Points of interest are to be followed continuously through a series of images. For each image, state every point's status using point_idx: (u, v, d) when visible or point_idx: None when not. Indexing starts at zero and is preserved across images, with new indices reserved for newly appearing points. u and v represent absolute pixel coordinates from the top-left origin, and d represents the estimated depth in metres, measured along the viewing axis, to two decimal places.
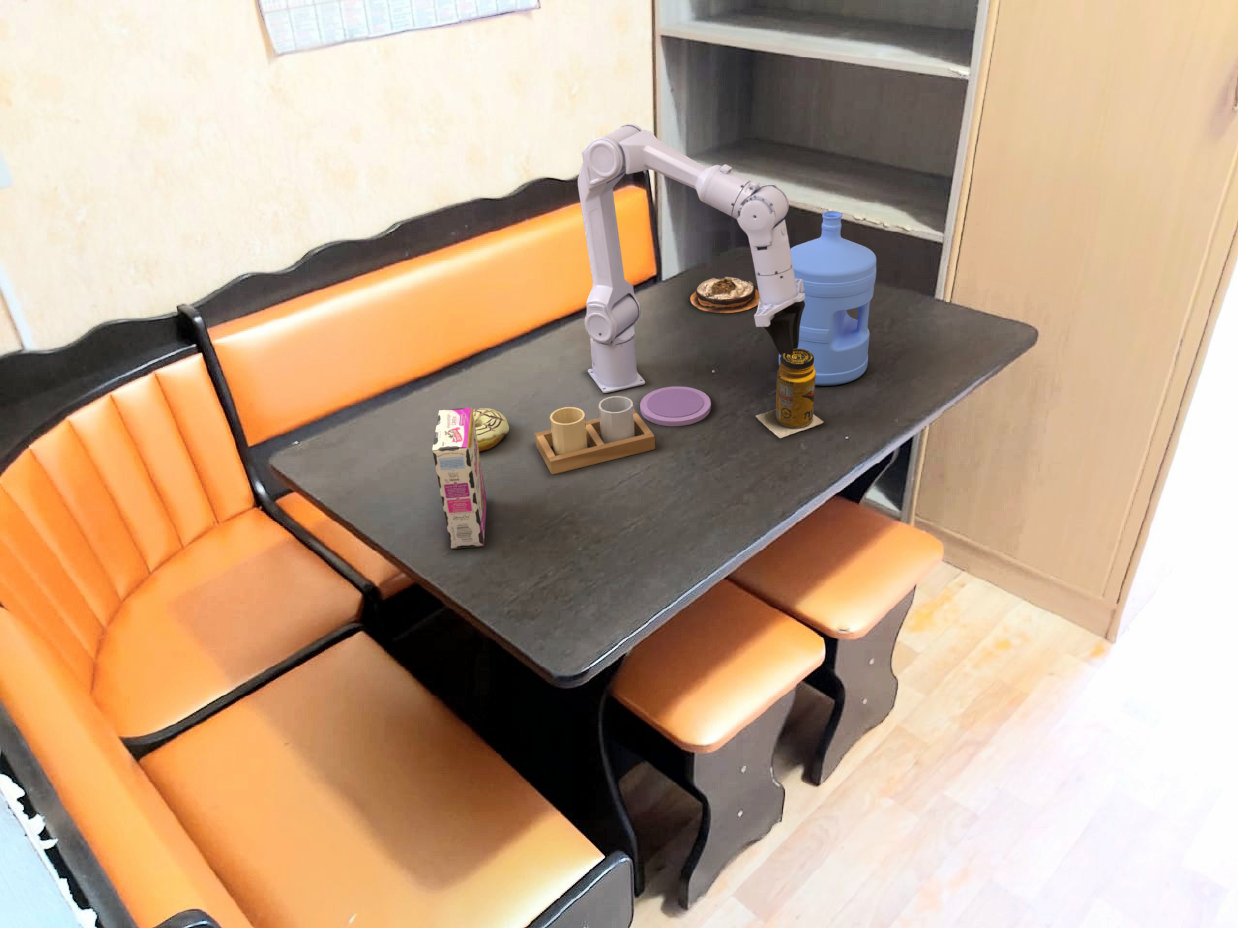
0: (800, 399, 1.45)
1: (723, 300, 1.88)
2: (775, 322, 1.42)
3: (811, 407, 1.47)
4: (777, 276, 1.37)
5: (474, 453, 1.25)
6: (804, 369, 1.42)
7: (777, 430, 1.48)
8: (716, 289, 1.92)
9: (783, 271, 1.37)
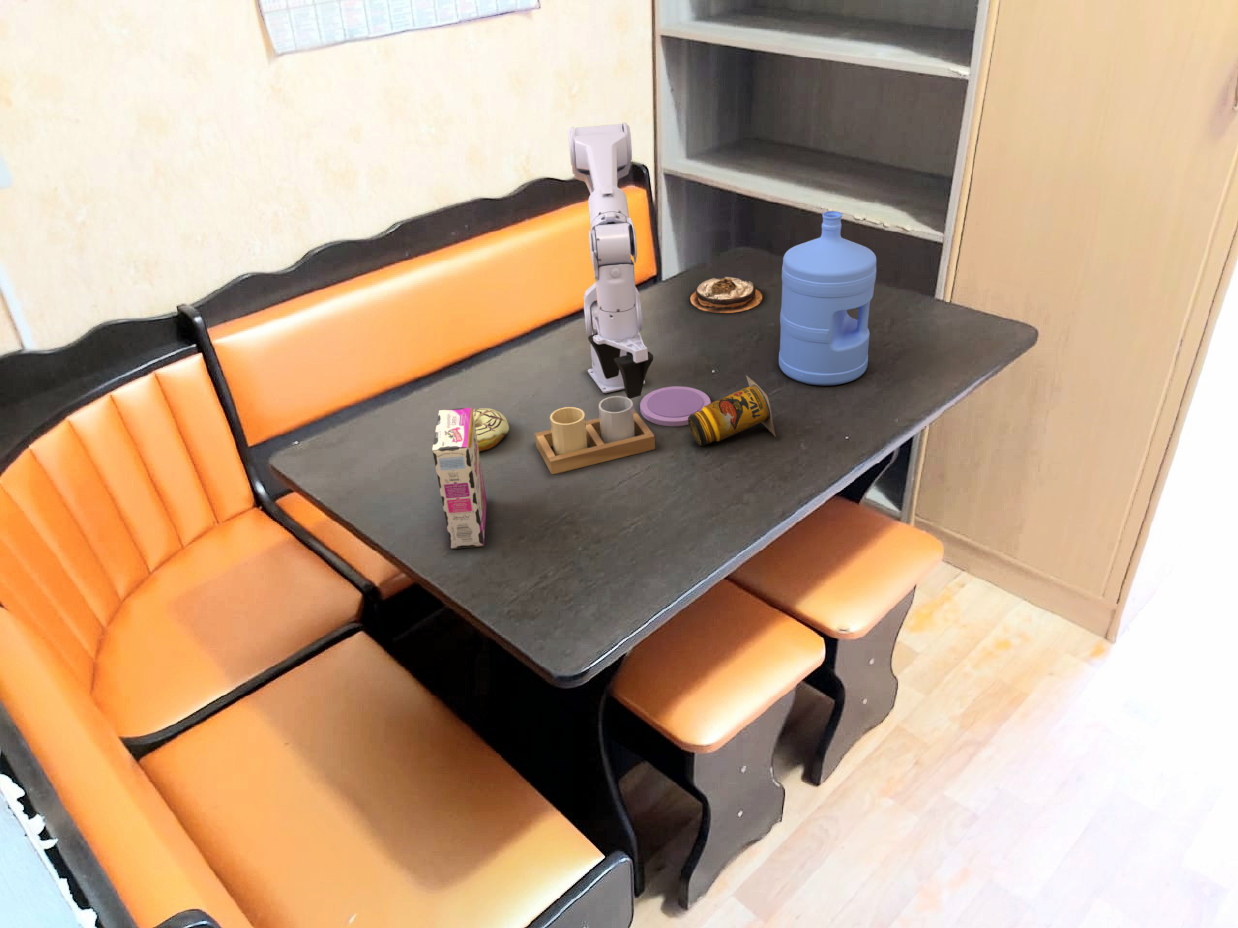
0: (737, 429, 1.44)
1: (723, 300, 1.88)
2: None
3: (749, 410, 1.43)
4: None
5: (474, 453, 1.25)
6: (707, 438, 1.43)
7: (768, 427, 1.48)
8: (716, 289, 1.92)
9: None
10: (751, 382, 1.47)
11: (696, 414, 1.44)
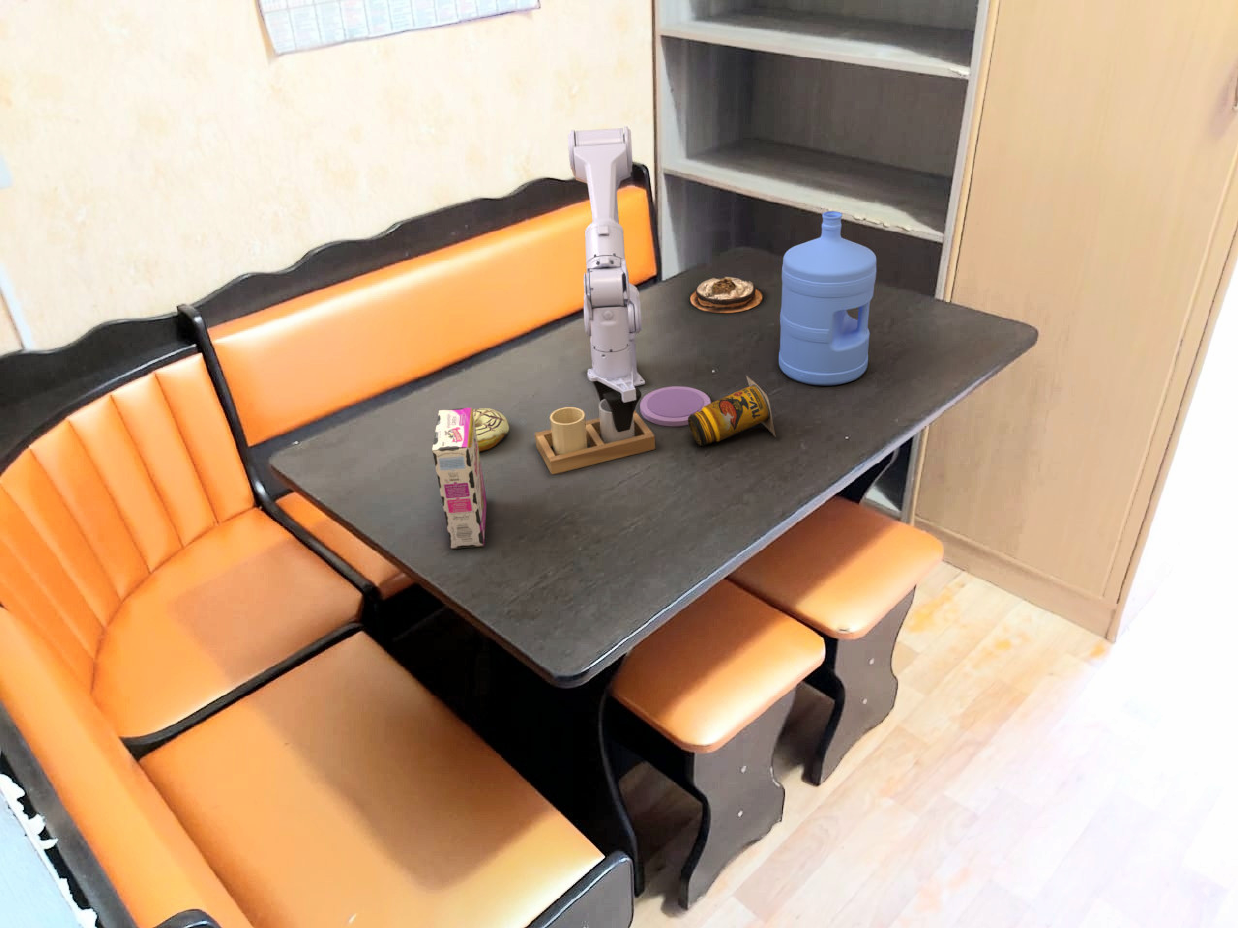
0: (737, 429, 1.44)
1: (723, 300, 1.88)
2: None
3: (749, 410, 1.43)
4: None
5: (474, 453, 1.25)
6: (707, 438, 1.43)
7: (768, 427, 1.48)
8: (716, 289, 1.92)
9: None
10: (751, 382, 1.47)
11: (696, 414, 1.44)
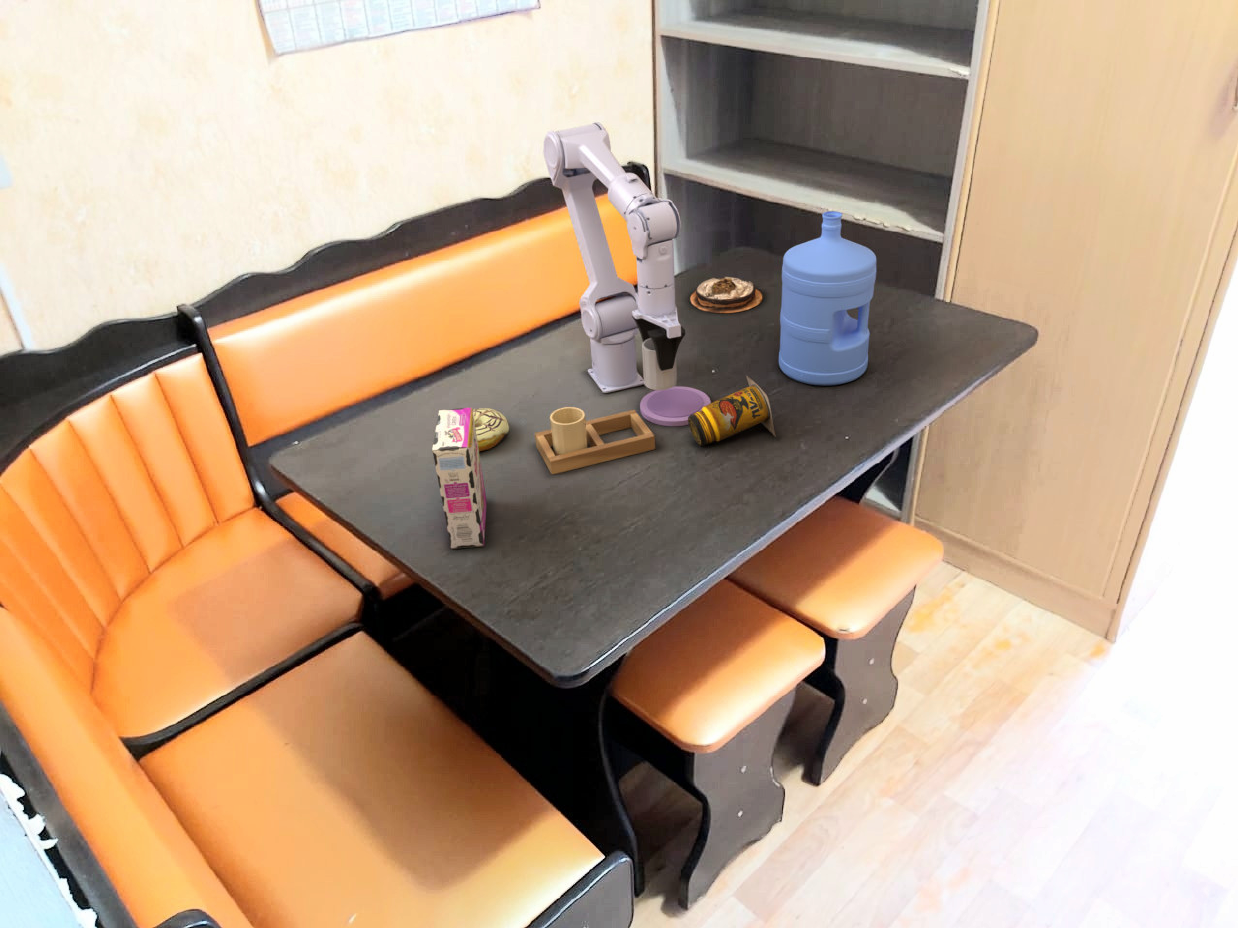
0: (737, 429, 1.44)
1: (723, 300, 1.88)
2: None
3: (749, 410, 1.43)
4: None
5: (474, 453, 1.25)
6: (707, 438, 1.43)
7: (768, 427, 1.48)
8: (716, 289, 1.92)
9: None
10: (751, 382, 1.47)
11: (696, 414, 1.44)
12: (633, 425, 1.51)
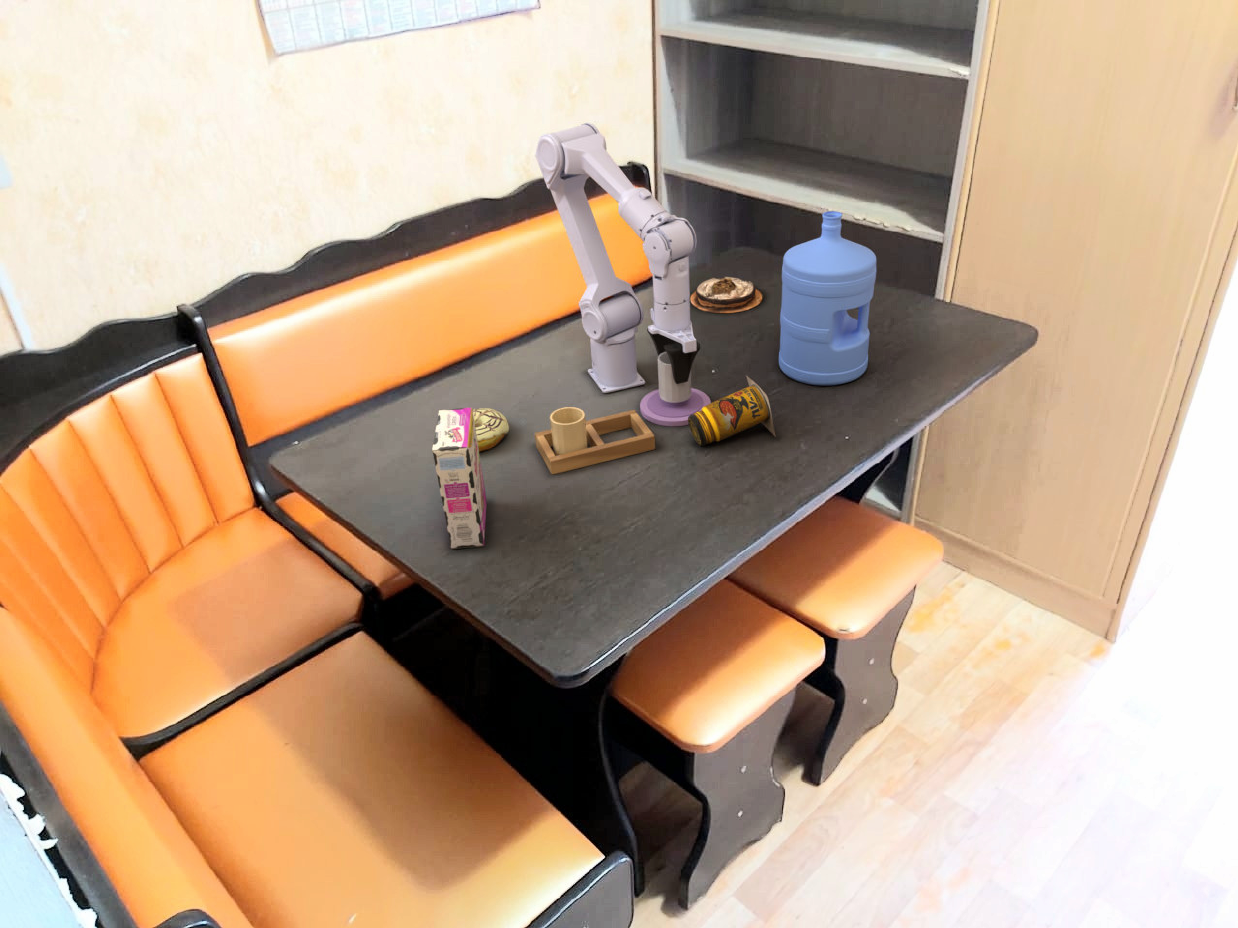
0: (737, 429, 1.44)
1: (723, 300, 1.88)
2: None
3: (749, 410, 1.43)
4: None
5: (474, 453, 1.25)
6: (707, 438, 1.43)
7: (768, 427, 1.48)
8: (716, 289, 1.92)
9: None
10: (751, 382, 1.47)
11: (696, 414, 1.44)
12: (633, 425, 1.51)
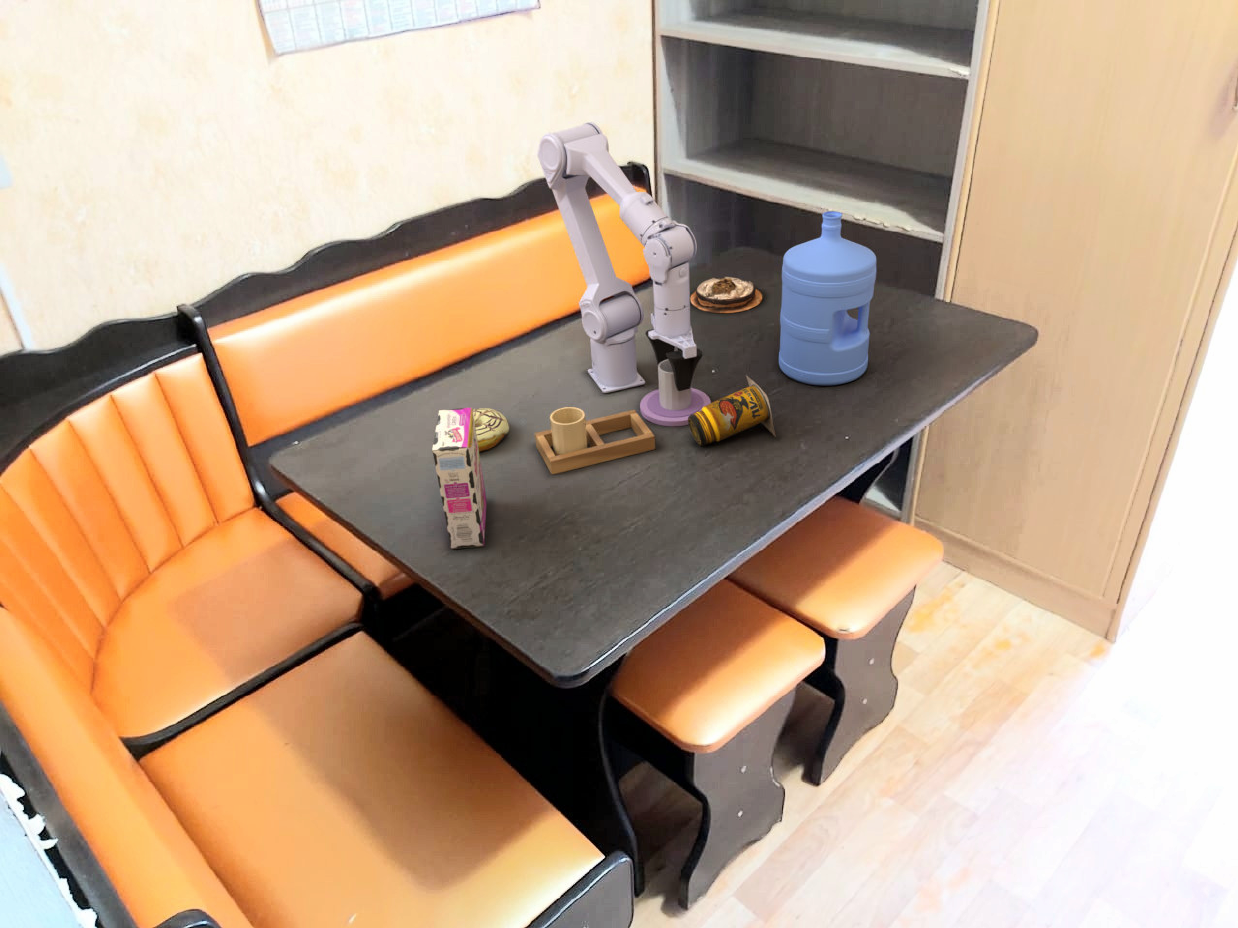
0: (737, 429, 1.44)
1: (723, 300, 1.88)
2: None
3: (749, 410, 1.43)
4: None
5: (474, 453, 1.25)
6: (707, 438, 1.43)
7: (768, 427, 1.48)
8: (716, 289, 1.92)
9: None
10: (751, 382, 1.47)
11: (696, 414, 1.44)
12: (633, 425, 1.51)
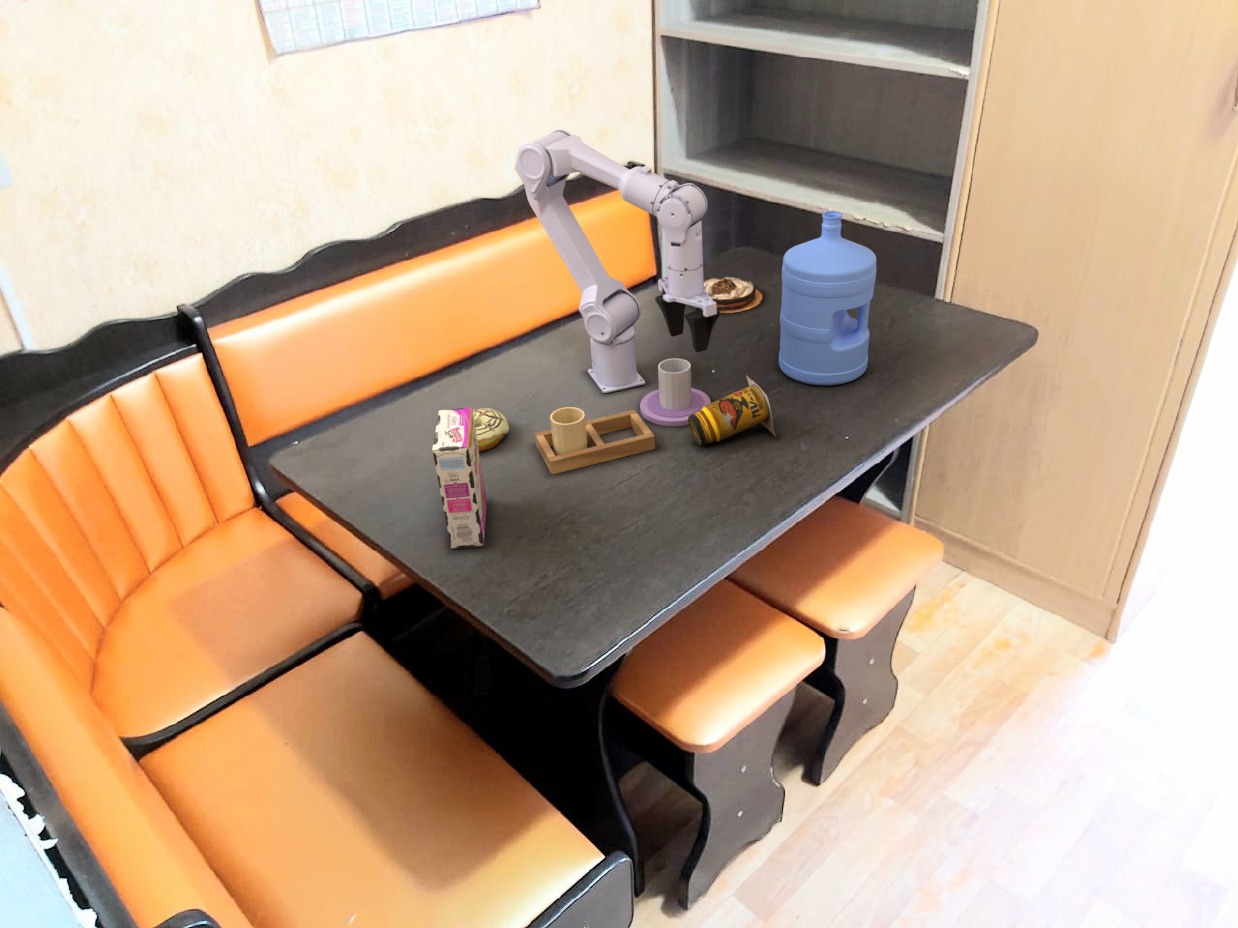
0: (737, 429, 1.44)
1: (723, 300, 1.88)
2: None
3: (749, 410, 1.43)
4: None
5: (474, 453, 1.25)
6: (707, 438, 1.43)
7: (768, 427, 1.48)
8: (716, 289, 1.92)
9: None
10: (751, 382, 1.47)
11: (696, 414, 1.44)
12: (633, 425, 1.51)
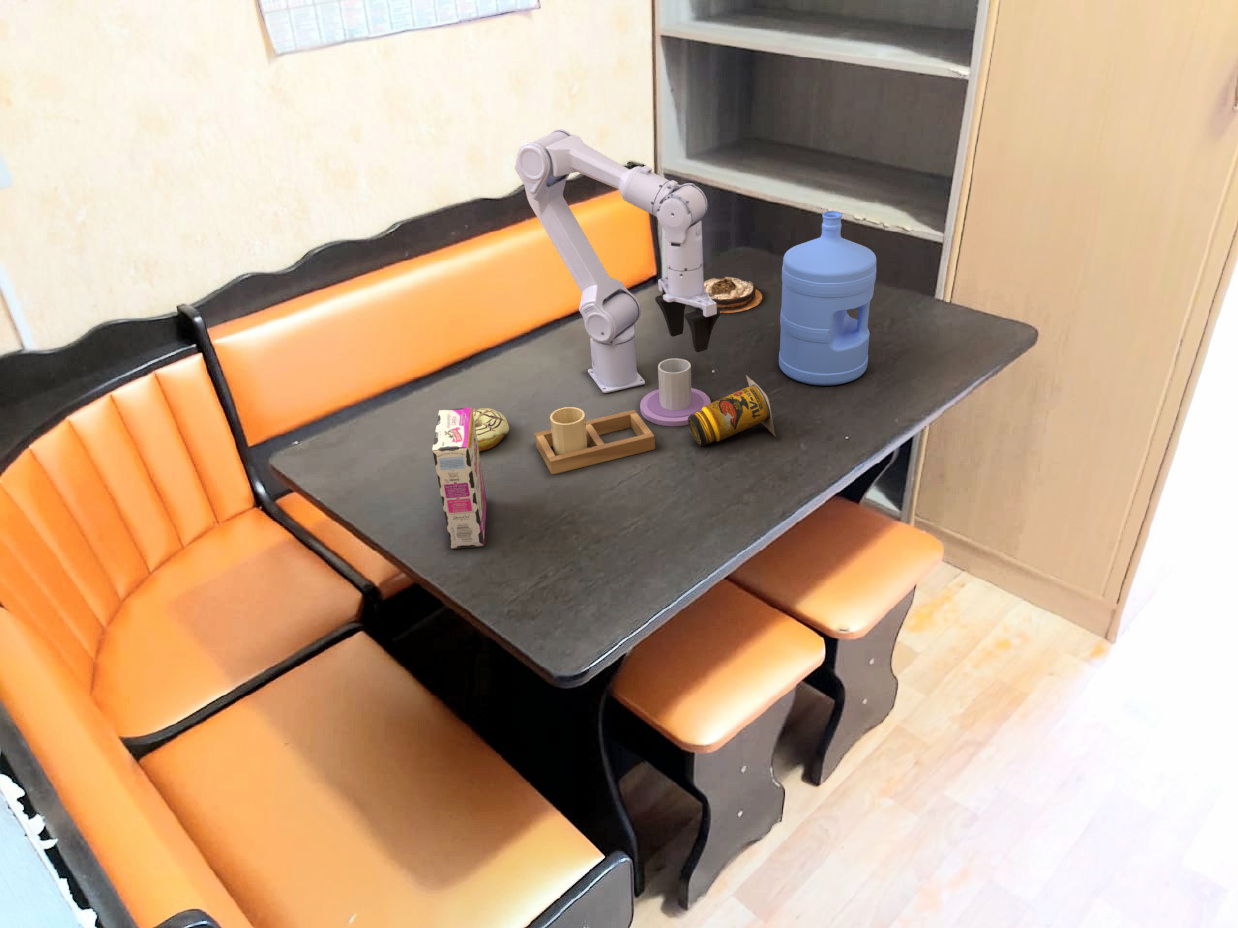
0: (737, 429, 1.44)
1: (723, 300, 1.88)
2: None
3: (749, 410, 1.43)
4: None
5: (474, 453, 1.25)
6: (707, 438, 1.43)
7: (768, 427, 1.48)
8: (716, 289, 1.92)
9: None
10: (751, 382, 1.47)
11: (696, 414, 1.44)
12: (633, 425, 1.51)
